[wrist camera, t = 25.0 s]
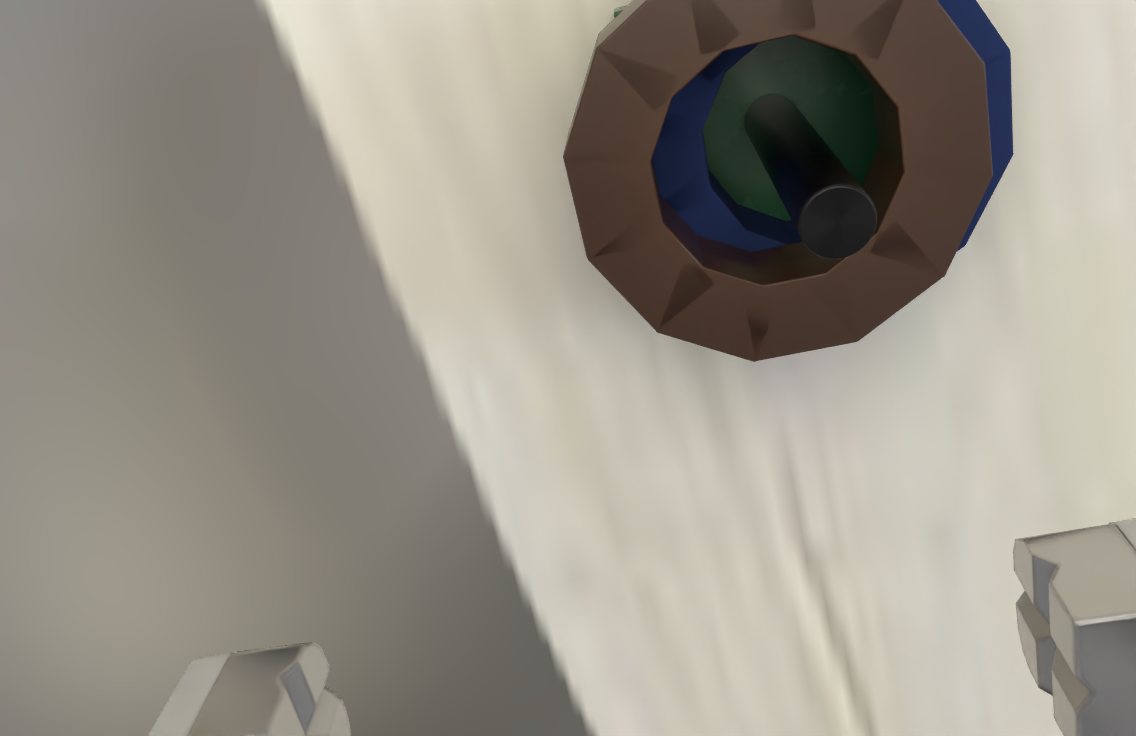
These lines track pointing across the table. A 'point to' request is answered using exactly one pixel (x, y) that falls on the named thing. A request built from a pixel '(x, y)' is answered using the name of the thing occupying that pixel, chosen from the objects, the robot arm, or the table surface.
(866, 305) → the walnut ring
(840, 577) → the table surface
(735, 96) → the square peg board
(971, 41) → the navy ring
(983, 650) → the table surface
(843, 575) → the table surface
